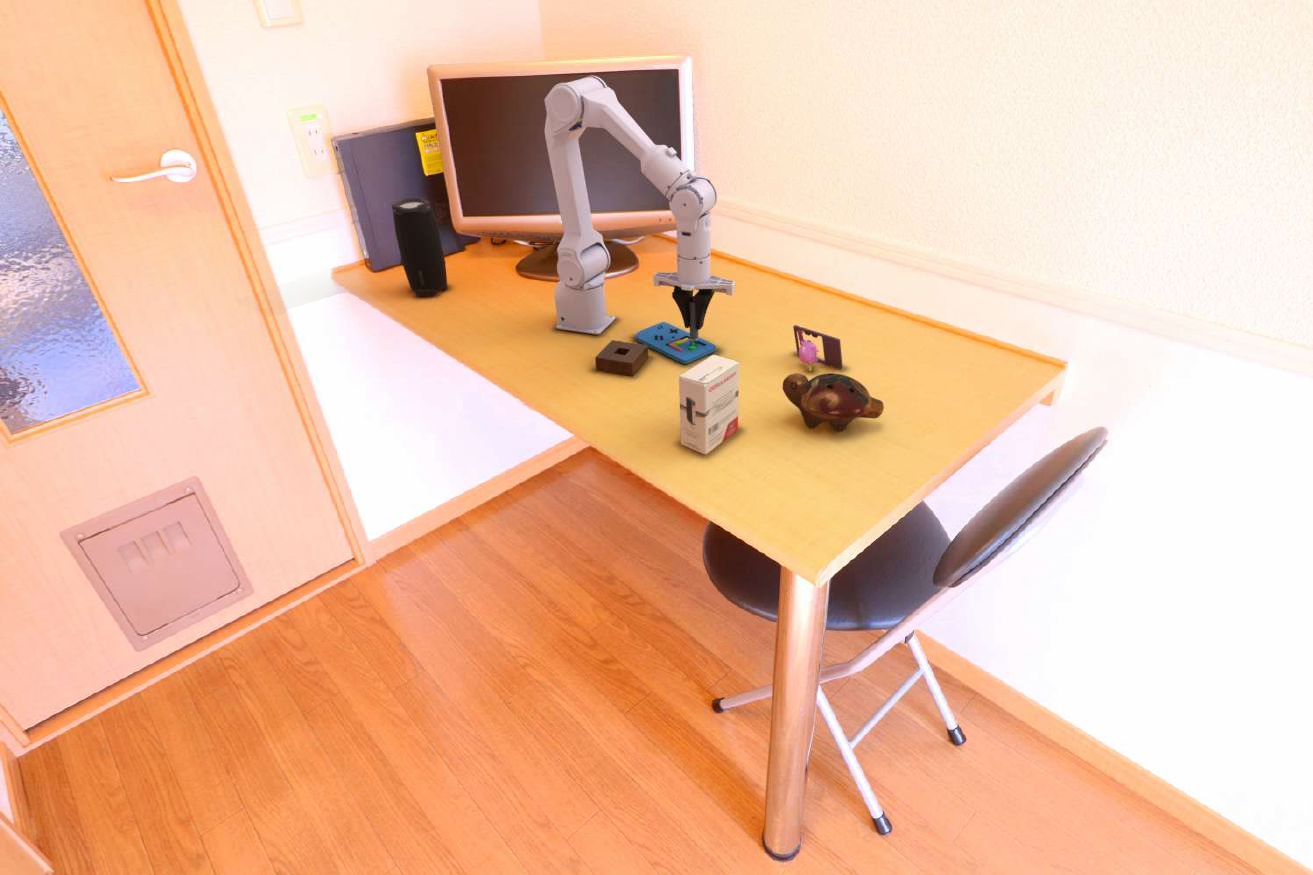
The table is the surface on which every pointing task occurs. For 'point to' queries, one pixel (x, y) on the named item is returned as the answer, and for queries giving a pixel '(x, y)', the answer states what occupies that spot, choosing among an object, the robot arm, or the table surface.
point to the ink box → (709, 403)
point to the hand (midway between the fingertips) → (694, 326)
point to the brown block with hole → (622, 358)
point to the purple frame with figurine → (810, 350)
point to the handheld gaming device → (674, 343)
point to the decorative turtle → (830, 399)
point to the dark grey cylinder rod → (693, 323)
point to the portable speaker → (420, 246)
